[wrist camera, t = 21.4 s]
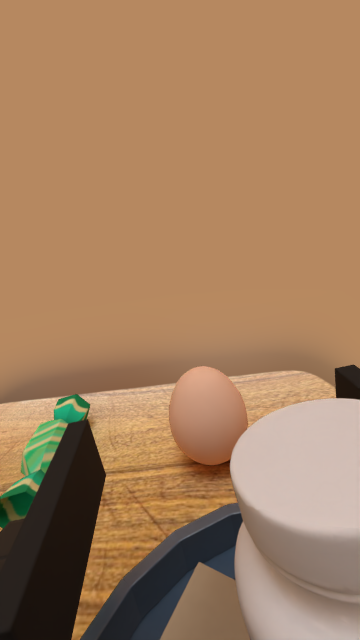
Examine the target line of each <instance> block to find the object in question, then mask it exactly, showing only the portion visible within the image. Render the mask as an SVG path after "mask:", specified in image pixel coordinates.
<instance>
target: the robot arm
mask: <svg viewBox="0 0 360 640" xmlns="http://www.w3.org/2000/svg"><path fill="white" fill-rule="evenodd" d="M335 382H336V398H346V399H358V400H360V369H359V368H358V367H356V366H355V365H350V366H345V367H340V368H335ZM105 477H106V474H105V471H104V468H103V465H102V462H101V458H100V455H99V452H98V449H97V446H96V443H95V440H94V437H93V434H92V431H91V428H90V425H89V422H88V419H87V420H82V421H77V422H72V423H68V425H67V427H66V430H65V432H64V434H63V436H62V438H61V441H60V443H59V445H58V447H57V449H56V451H55V454H54V456H53V458H52V460H51V462H50V465H49V467H48V469H47V471H46V473H45V475H44V478H43V480H42V482H41V484H40V486H39V489H38V491H37V493H36V495H35V497H34V499H33V502H32V504H31V506H30V508H29V510H28V513H27V515H26V517H25V518H24V519H19V520H14V521H10V522H9V523H8V524H7V525H6V526H5V527H4V528H3V530H2V531H1V532H0V640H71V638H72V633H73V628H74V624H75V619H76V614H77V610H78V605H79V600H80V595H81V591H82V586H83V581H84V576H85V572H86V567H87V562H88V558H89V553H90V548H91V543H92V539H93V534H94V529H95V524H96V520H97V515H98V510H99V505H100V501H101V496H102V491H103V487H104V482H105Z"/></svg>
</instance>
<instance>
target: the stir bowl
mask: <svg viewBox="0 0 360 640" xmlns="http://www.w3.org/2000/svg"><path fill="white" fill-rule="evenodd" d="M242 522H243V519H242V515H241V511H240V508H239V505H238V503H233V504H228V505H225V506H223V507H221V508H219V509H217V510H215V511H213V512H211V513H209V514H207V515H205V516H203V517H201V518H199V519H197V520H195V521H193V522H191V523H189V524H187V525H185V526H183V527H181V528H179V529H177V530H175V531H174V532H173V533H172V534H170V535H169V536H168V537H167V538H166V539H165V540H164V541H163V542H162V543H160V544H159V545H158V546H157V547H156V548H155V549H154V550H153V551H152V552H151V553H149V554H148V555H147V556H146V557H145V558H144V559H143V560H142V561H141V562H140V563H138V564H137V565H136V566H135V567H134V568H133V569H132V570H131V571H130V572H128V573H127V574H126V575H125V576H124V577H123V579H121V581H120V582H119V583H118V585H117V586H116V588H115V589H114V591H113V592H112V594H111V595H110V597H109V598H108V599H107V601H106V602H105V604H104V605H103V607H102V608H101V610H100V611H99V612H98V614H97V615H96V617H95V618H94V620H93V621H92V623H91V624H90V625H89V627H88V628H87V630H86V631H85V633H84V634H83V636H82V637H81V639H80V640H160V638H161V636H162V634H163V632H164V630H165V628H166V626H167V624H168V622H169V620H170V618H171V616H172V614H173V612H174V610H175V608H176V606H177V604H178V602H179V600H180V598H181V596H182V594H183V592H184V590H185V588H186V586H187V584H188V582H189V580H190V578H191V576H192V574H193V572H194V570H195V568H196V566H197V564H198V562H201V563H203V564H204V565H206V566H208V567H210V568H212V569H214V570H216V571H218V572H220V573H222V574H224V575H226V576H228V577H230V578H232V579H234V580H235V549H236V542H237V537H238V532H239V529H240V527H241V524H242Z"/></svg>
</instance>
